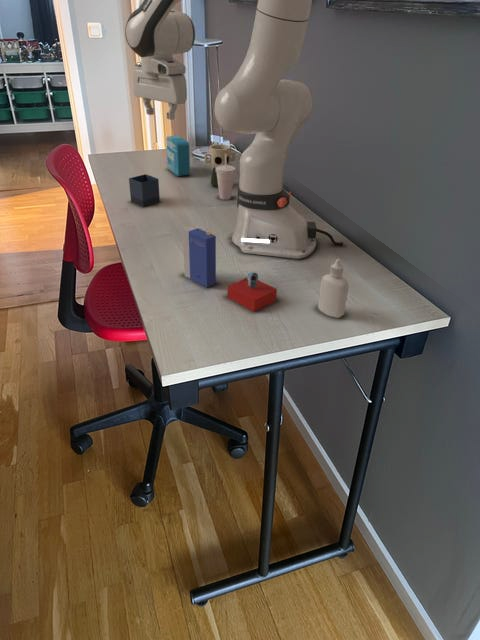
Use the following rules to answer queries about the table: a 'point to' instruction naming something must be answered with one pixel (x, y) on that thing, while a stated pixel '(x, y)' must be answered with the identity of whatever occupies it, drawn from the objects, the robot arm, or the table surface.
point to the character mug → (218, 159)
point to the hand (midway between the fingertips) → (160, 116)
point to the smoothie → (225, 179)
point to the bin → (144, 190)
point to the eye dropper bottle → (333, 292)
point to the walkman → (200, 256)
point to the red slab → (252, 292)
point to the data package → (178, 155)
